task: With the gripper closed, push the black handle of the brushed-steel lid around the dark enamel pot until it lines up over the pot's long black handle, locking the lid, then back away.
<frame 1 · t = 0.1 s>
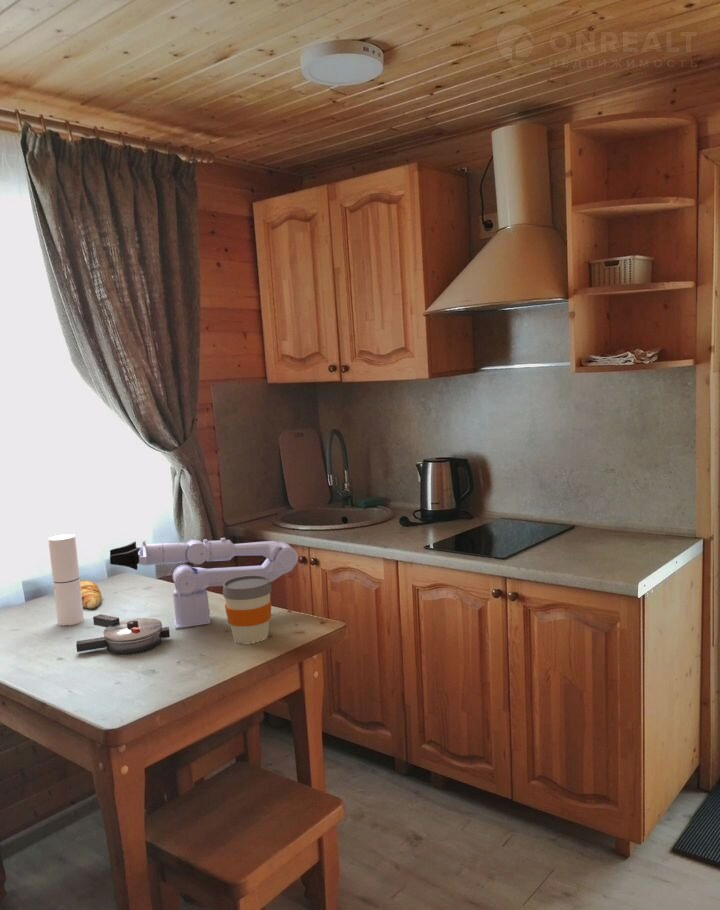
hand: (110, 556, 204), 22 cm above the table, tool horizontal, fingers open, 7 cm apart
croissant: (84, 603, 238), on the table
pot: (134, 644, 198), on the table
lid: (124, 625, 199), point 5 cm above the table, hinge at -50.0°
reusable coffee cup: (251, 638, 198), on the table
cylindrical container: (71, 622, 220), on the table
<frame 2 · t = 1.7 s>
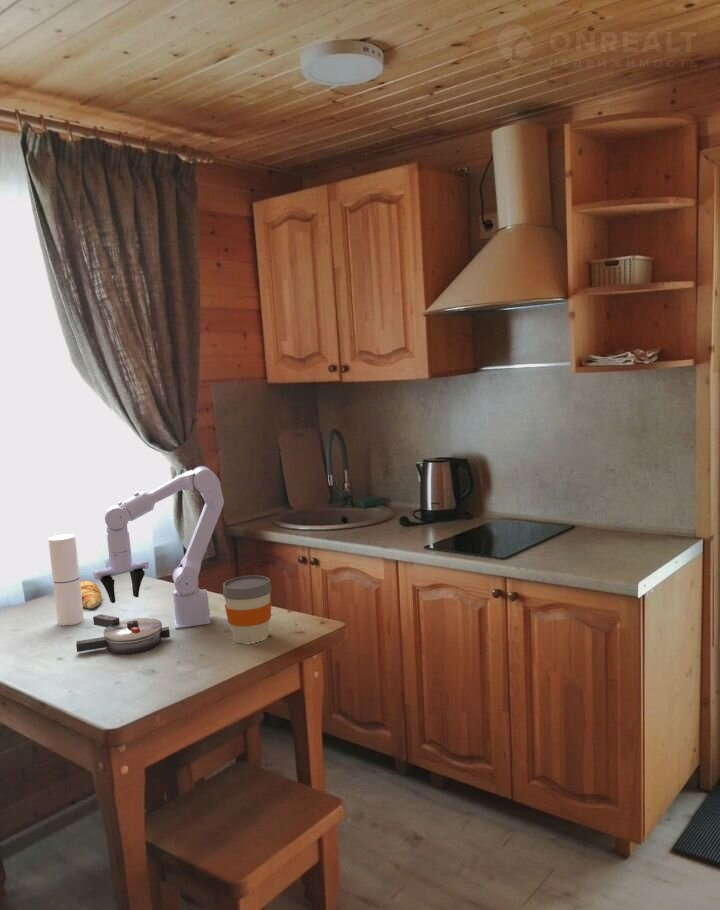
hand: (124, 599, 206), 9 cm above the table, tool pointing down, fingers open, 6 cm apart
nothing on the table moved.
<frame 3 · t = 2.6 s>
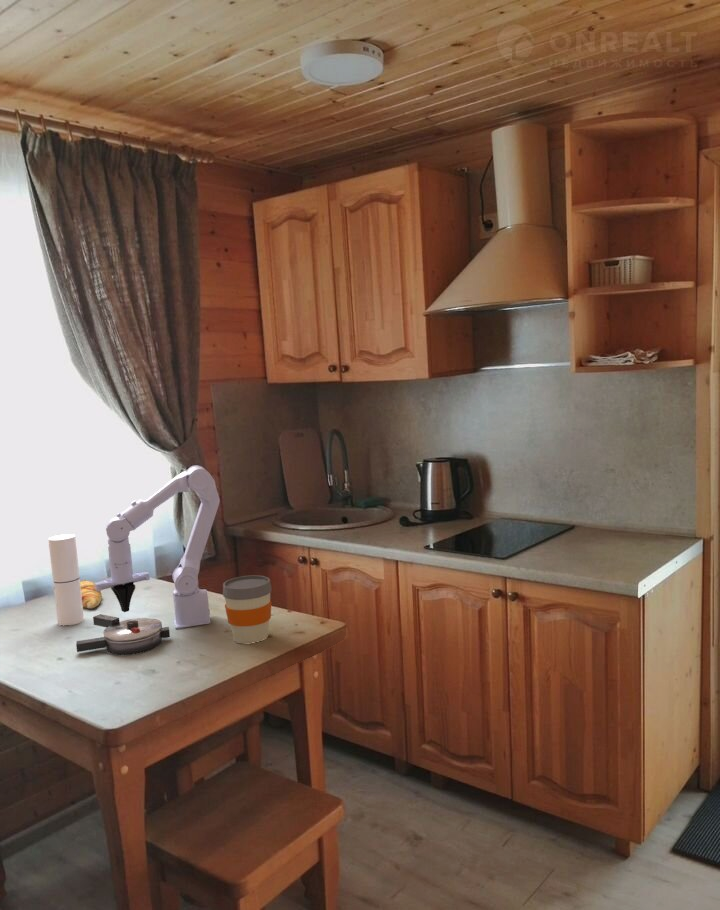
hand: (125, 610, 207), 6 cm above the table, tool pointing down, fingers closed
nothing on the table moved.
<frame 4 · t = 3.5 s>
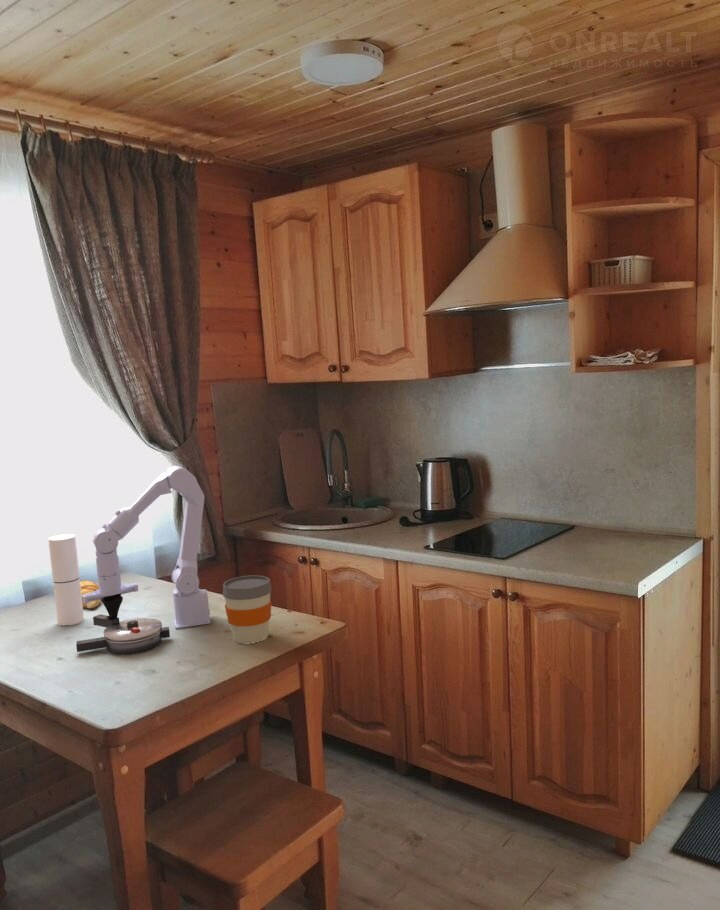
hand: (113, 622, 205), 4 cm above the table, tool pointing down, fingers closed
lid: (124, 625, 199), point 5 cm above the table, hinge at -49.8°, touching gripper
everything else where it was.
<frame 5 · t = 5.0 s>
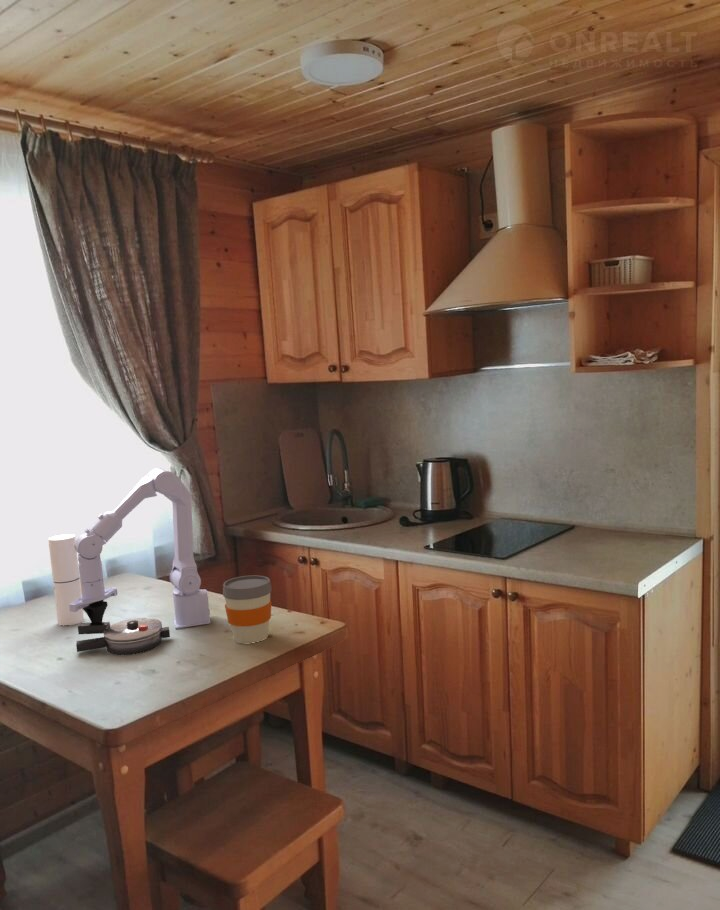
hand: (97, 629, 200), 4 cm above the table, tool pointing down, fingers closed
lid: (120, 627, 197), point 5 cm above the table, hinge at -20.3°, touching gripper
everything else where it was.
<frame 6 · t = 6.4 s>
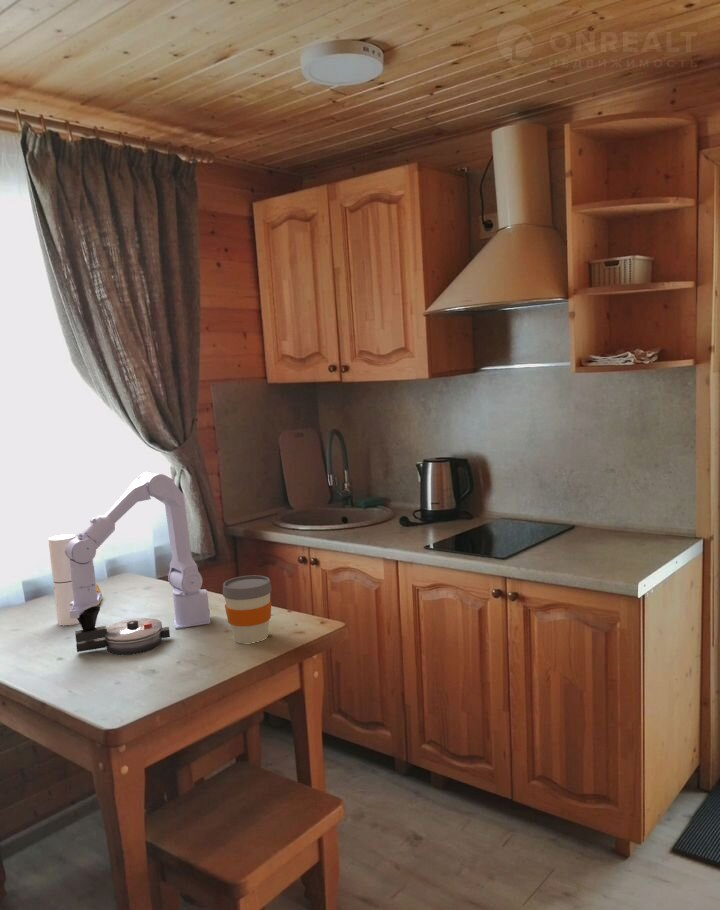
hand: (89, 636, 196), 4 cm above the table, tool pointing down, fingers closed
lid: (119, 629, 196), point 5 cm above the table, hinge at 4.8°, touching gripper
everything else where it was.
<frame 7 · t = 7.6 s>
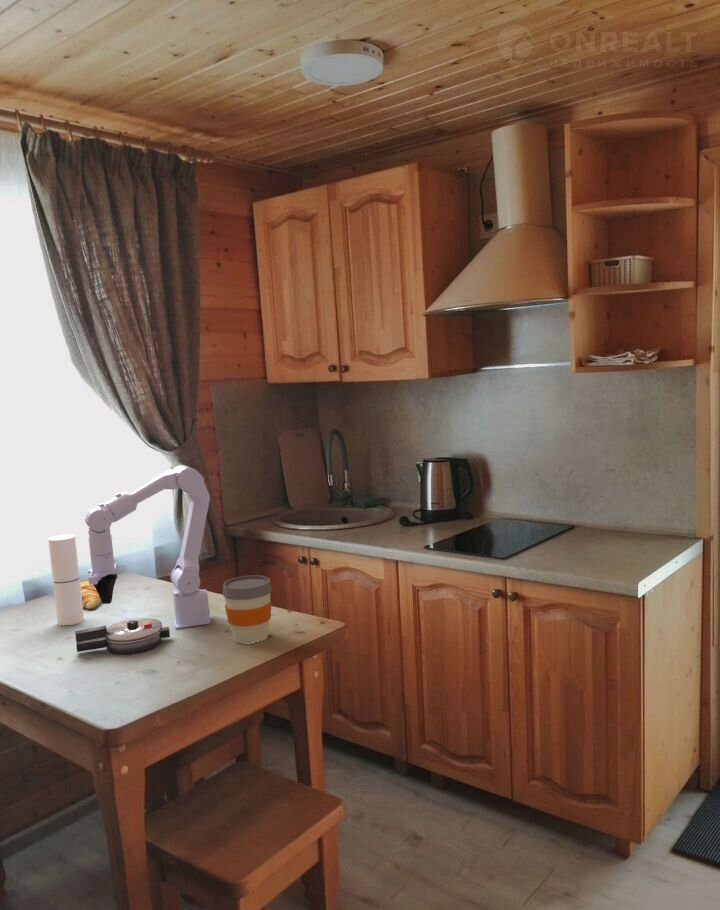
hand: (106, 603, 202), 10 cm above the table, tool pointing down, fingers closed
lid: (119, 629, 196), point 5 cm above the table, hinge at 5.0°
everything else where it was.
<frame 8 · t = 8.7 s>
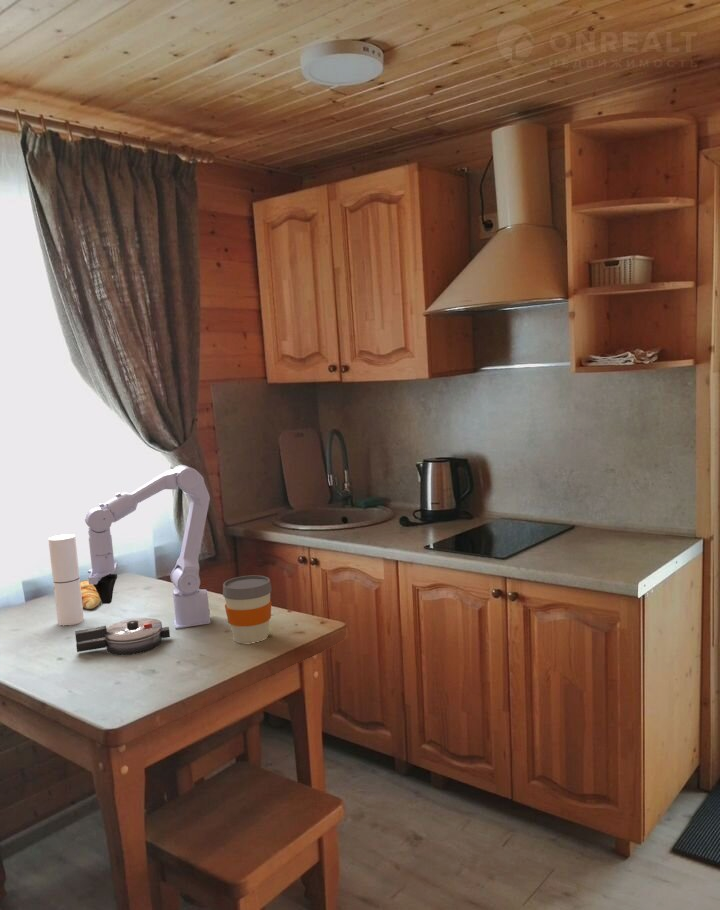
hand: (106, 603, 202), 10 cm above the table, tool pointing down, fingers closed
nothing on the table moved.
at the end: lid at +5° (first picture: -50°) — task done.
